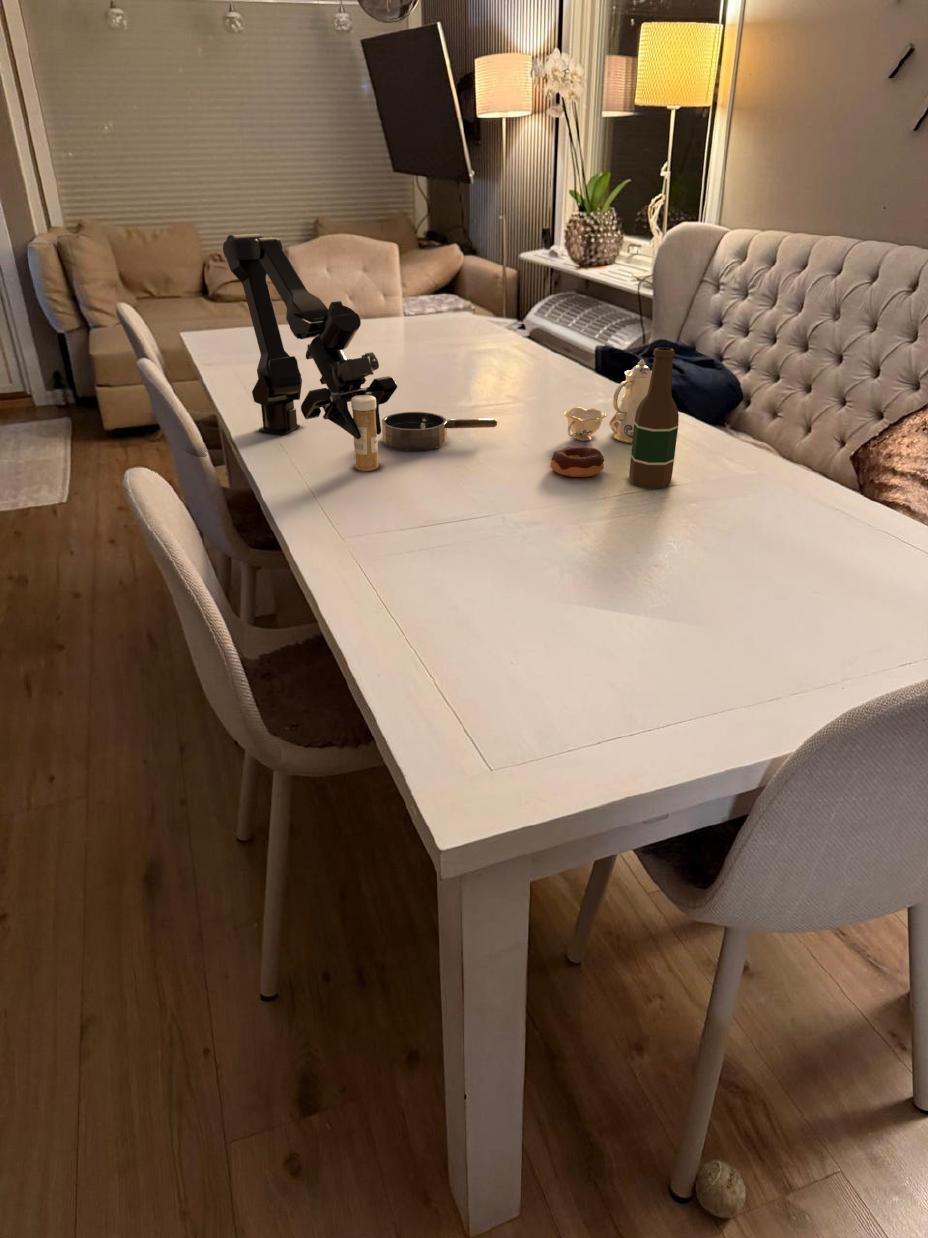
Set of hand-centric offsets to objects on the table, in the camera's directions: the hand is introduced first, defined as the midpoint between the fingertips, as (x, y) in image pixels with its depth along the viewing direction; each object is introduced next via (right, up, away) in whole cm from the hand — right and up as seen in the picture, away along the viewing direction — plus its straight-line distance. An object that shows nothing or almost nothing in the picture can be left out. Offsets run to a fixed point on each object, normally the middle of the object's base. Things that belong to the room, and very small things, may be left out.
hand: (369, 435), depth 167 cm
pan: (+7, +3, +19) cm, 20 cm away
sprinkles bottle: (-1, -5, +4) cm, 7 cm away
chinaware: (+52, +5, +24) cm, 57 cm away
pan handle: (+19, +5, +18) cm, 27 cm away
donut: (+39, -6, +3) cm, 40 cm away
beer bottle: (+52, -9, -2) cm, 53 cm away
